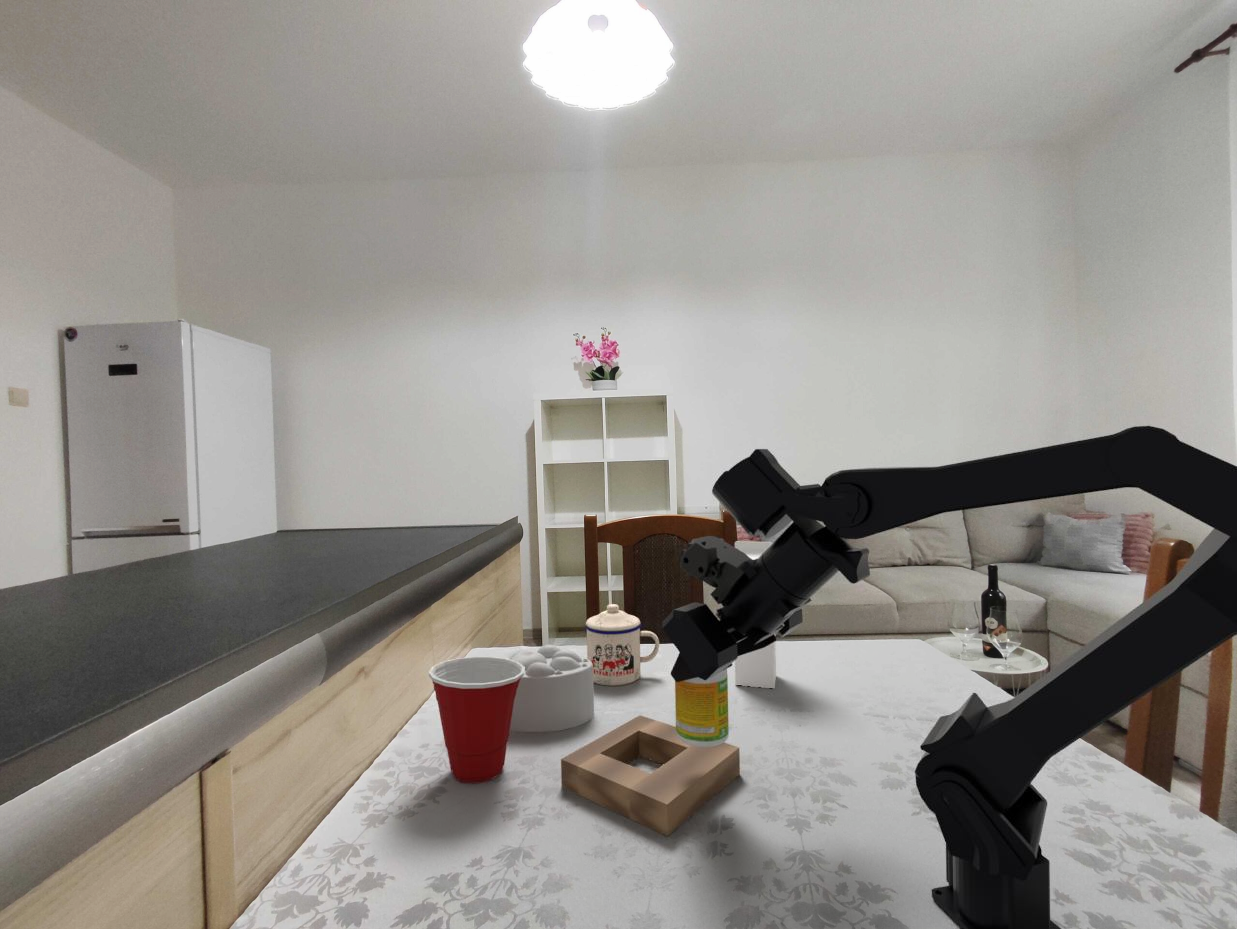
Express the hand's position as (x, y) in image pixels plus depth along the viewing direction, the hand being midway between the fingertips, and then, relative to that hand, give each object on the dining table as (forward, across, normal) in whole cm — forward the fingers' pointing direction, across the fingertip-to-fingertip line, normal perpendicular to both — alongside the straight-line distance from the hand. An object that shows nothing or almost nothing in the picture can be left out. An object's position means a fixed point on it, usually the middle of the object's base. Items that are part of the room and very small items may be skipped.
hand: (689, 669), depth 63 cm
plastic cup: (+25, +10, -6) cm, 28 cm away
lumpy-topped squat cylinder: (+28, -5, -10) cm, 31 cm away
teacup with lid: (+29, -23, -10) cm, 38 cm away
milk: (+16, -34, +2) cm, 38 cm away
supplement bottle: (+4, 0, +6) cm, 7 cm away
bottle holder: (+14, 0, +5) cm, 15 cm away
